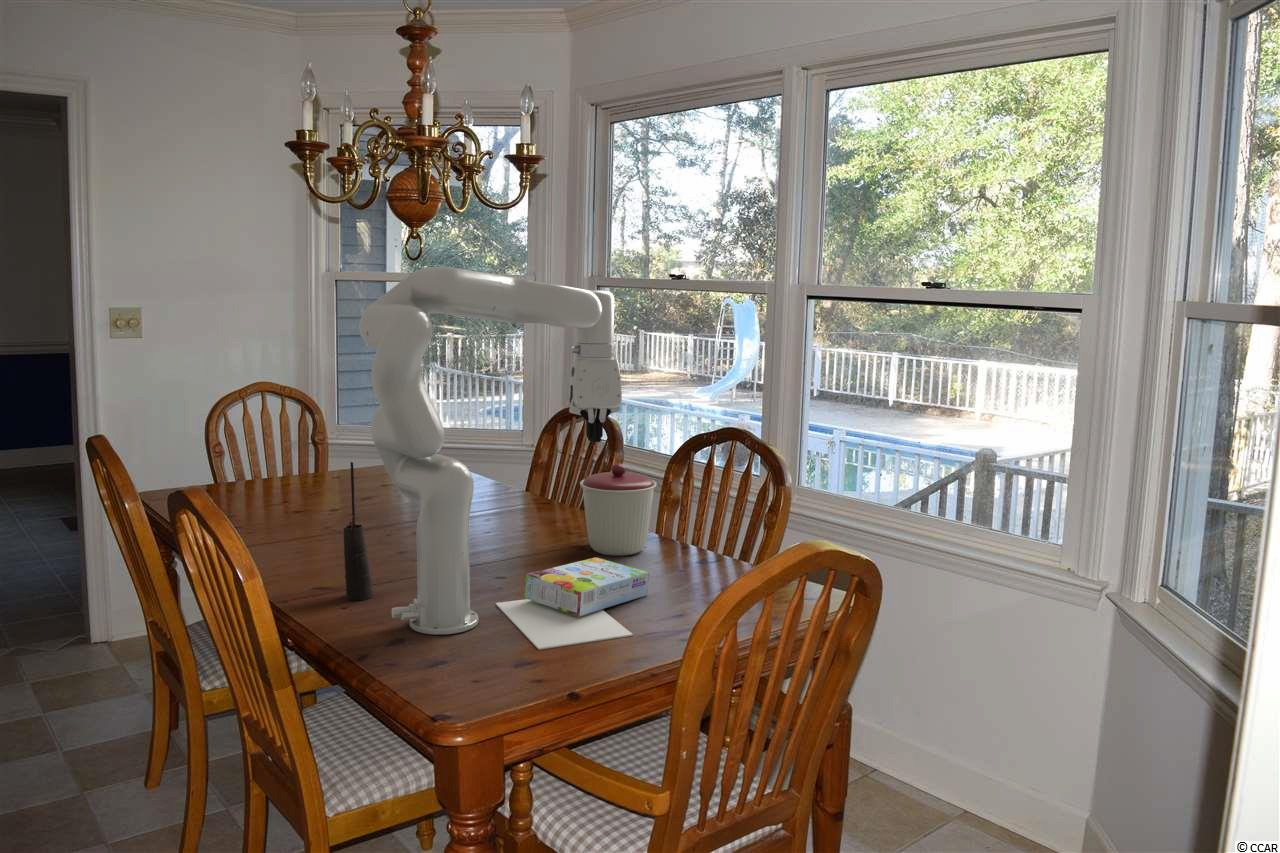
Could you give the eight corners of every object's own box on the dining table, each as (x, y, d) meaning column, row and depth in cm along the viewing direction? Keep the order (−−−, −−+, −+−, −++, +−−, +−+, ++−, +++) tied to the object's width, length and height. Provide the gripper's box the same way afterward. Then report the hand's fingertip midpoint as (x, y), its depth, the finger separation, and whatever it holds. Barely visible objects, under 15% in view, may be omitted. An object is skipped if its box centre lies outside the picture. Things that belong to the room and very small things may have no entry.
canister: (586, 563, 226) (587, 472, 223) (573, 542, 243) (574, 457, 240) (663, 559, 230) (665, 469, 227) (645, 538, 247) (646, 455, 244)
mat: (538, 649, 173) (538, 648, 173) (495, 604, 196) (495, 603, 196) (632, 635, 181) (632, 634, 181) (580, 593, 204) (580, 592, 204)
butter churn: (339, 588, 205) (335, 454, 201) (386, 588, 206) (383, 455, 201) (328, 602, 196) (323, 463, 192) (377, 602, 197) (373, 463, 192)
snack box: (648, 598, 204) (594, 579, 213) (650, 571, 203) (596, 554, 212) (577, 619, 187) (522, 598, 197) (579, 590, 187) (524, 571, 196)
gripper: (567, 354, 194) (566, 446, 197) (636, 352, 201) (635, 442, 203) (554, 351, 201) (553, 440, 204) (621, 349, 207) (620, 436, 210)
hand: (594, 441), depth 204 cm, fingers closed
